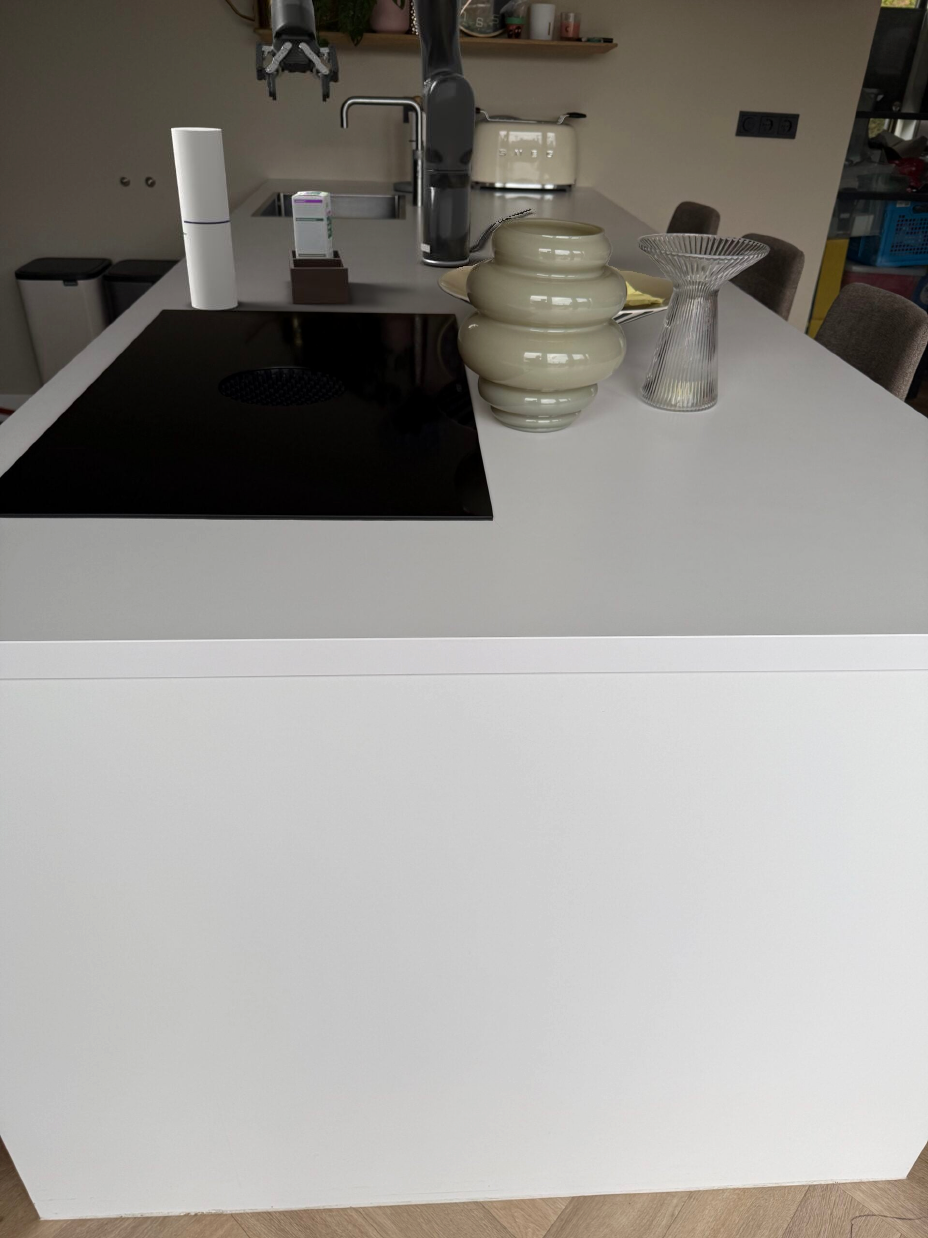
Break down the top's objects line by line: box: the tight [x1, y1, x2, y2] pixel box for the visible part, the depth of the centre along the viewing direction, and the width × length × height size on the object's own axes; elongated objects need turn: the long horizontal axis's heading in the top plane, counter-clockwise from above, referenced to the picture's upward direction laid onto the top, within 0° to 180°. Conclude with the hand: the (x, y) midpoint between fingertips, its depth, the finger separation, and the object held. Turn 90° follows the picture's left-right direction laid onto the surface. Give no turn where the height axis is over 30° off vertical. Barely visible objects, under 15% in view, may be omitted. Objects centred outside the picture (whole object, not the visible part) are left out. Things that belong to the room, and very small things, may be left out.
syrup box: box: [291, 190, 334, 258], centre depth 157 cm, size 6×6×14 cm
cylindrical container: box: [170, 127, 239, 311], centre depth 141 cm, size 7×7×25 cm
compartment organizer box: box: [288, 249, 350, 305], centre depth 156 cm, size 18×9×6 cm, turn 10°
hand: (299, 97), depth 158 cm, fingers open, 8 cm apart
